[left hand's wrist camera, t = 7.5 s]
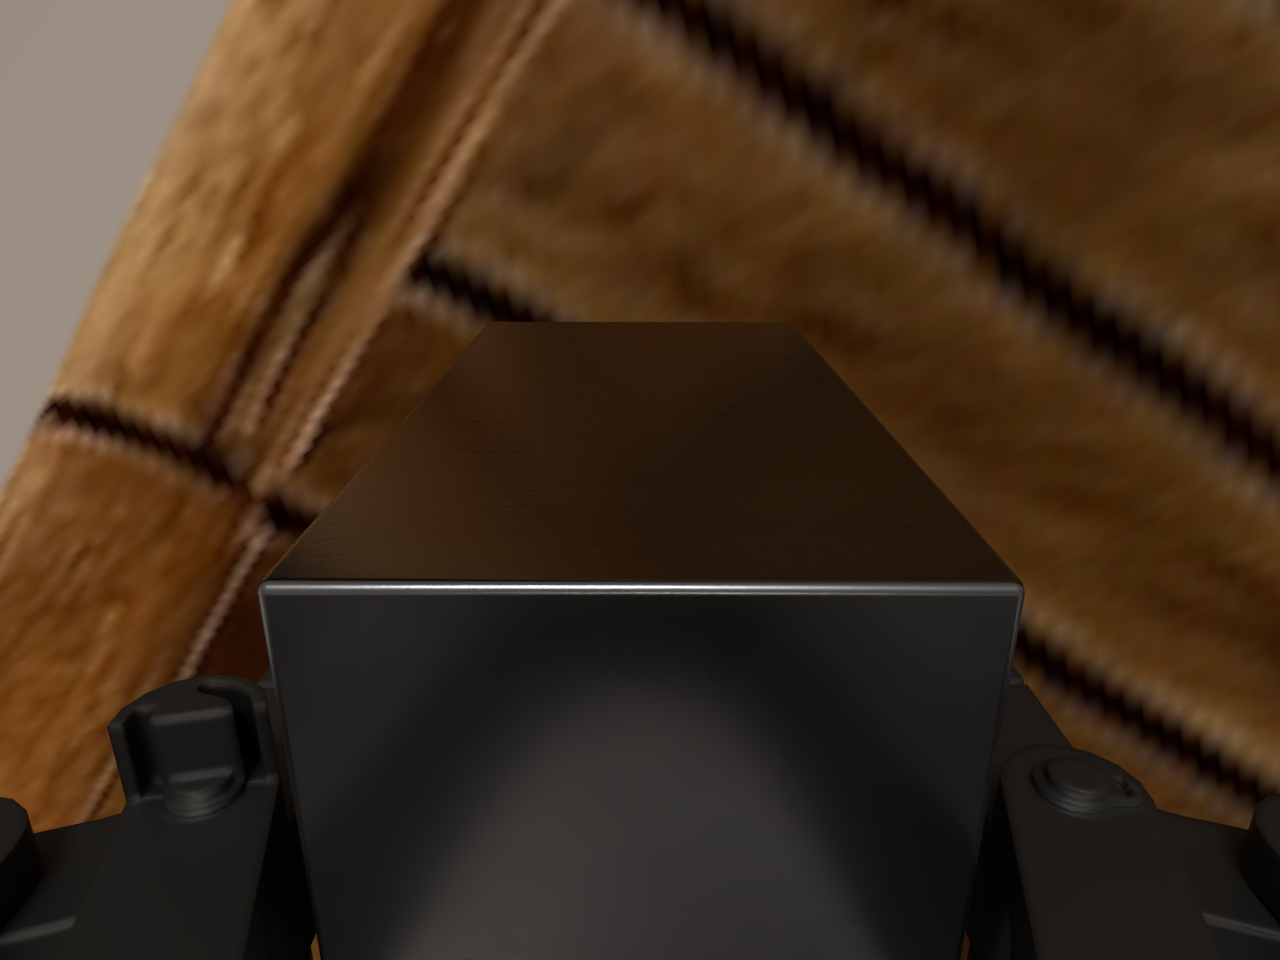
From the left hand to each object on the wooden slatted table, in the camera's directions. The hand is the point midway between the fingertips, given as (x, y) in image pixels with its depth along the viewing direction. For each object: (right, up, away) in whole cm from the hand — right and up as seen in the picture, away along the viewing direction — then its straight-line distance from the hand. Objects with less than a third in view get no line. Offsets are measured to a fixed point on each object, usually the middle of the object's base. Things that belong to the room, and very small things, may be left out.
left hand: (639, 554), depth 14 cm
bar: (0, -8, +4) cm, 9 cm away
